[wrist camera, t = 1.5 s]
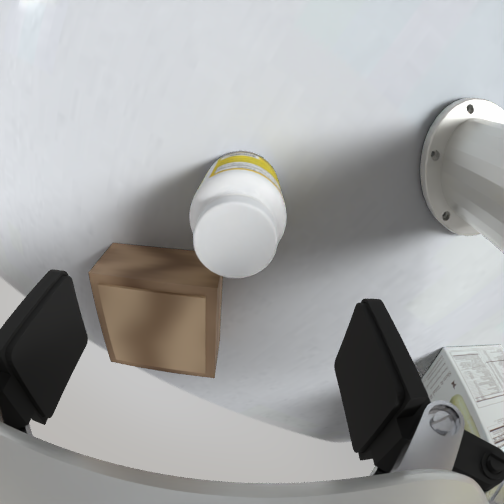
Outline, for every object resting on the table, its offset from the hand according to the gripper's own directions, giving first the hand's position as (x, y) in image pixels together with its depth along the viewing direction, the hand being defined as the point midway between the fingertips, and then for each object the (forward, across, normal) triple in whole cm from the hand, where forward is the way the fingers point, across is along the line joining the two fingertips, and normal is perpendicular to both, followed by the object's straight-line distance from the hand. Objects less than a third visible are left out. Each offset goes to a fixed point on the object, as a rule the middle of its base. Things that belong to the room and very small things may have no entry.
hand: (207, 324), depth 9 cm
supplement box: (+15, -33, +23) cm, 43 cm away
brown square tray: (+16, +5, +11) cm, 20 cm away
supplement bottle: (+16, -1, 0) cm, 16 cm away
